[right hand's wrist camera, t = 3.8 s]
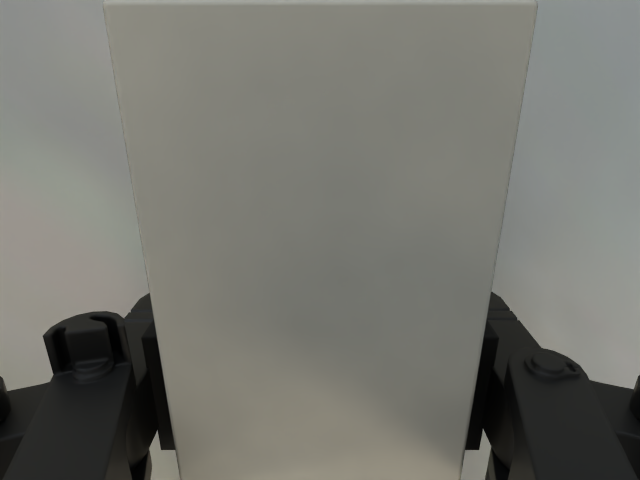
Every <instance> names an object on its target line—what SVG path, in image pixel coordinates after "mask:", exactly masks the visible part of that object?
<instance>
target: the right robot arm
mask: <svg viewBox="0 0 640 480" xmlns="http://www.w3.org/2000/svg"><path fill="white" fill-rule="evenodd" d="M43 338H44V342H45V346H46V349H47V353H48V356H49V360H50V364H51V367H52V371H53V374H54V375H53V377H52V379H51V381H50V382H49V383H45V384H41V385H36V386H31V387H26V388H21V389H16V390H11V391H7V390H6V386H5V383H4V380H3V378H2V377H1V376H0V480H150V478H151V470H152V463H151V456H150V451H149V447H150V445H151V443H152V440H153V438H154V436H155V434H156V432H157V430H158V435H159V440H160V446H161V450H175V444H174V438H173V431H172V425H171V419H170V413H169V407H168V401H167V395H166V389H165V383H164V377H163V370H162V364H161V358H160V352H159V346H158V340H157V334H156V328H155V322H154V316H153V309H152V303H151V297H150V293H149V294H147V295H145V296H144V297H142V298H141V299H139V301H138V302H137V303H136V304H135V306H134V307H133V308H132V309H131V312H129V313H128V314H127V316H126V317H125V318H123V317H121V316H120V315H119V314H117V313H112V312H107V311H102V312H89V313H84V314H80V315H76V316H73V317H71V318H68V319H65V320H63V321H61V322H59V323H58V324H56V325H54V326H53V327H51V328H50V329H49V330H48V331H47V332H46V333H45V334H44V335H43ZM483 429H484V431H485V433H486V435H487V438H488V440H489V442H490V444H491V451H490V456H489V461H488V467H487V472H486V477H485V480H640V375H639V376H638V379H637V382H636V385H635V388H634V389H629V388H624V387H619V386H614V385H609V384H604V383H599V382H595V381H591V380H589V378H588V376H587V374H586V373H585V372H584V370H583V369H582V368H581V367H580V365H578V364H577V363H576V362H574V361H573V360H571V359H570V358H568V357H567V356H564V355H562V354H560V353H557V352H555V351H552V350H548V349H543V348H541V347H540V346H539V344H538V343H537V342H536V341H535V339H534V338H533V337H532V336H531V335H530V333H529V332H528V331H527V330H526V328H525V327H524V326H523V325H522V323H521V322H520V321H519V320H517V317H516V316H515V315H514V313H513V312H512V311H510V308H509V307H508V306H507V305H506V304H505V302H504V301H503V300H502V299H501V297H499V296H497V295H496V294H494V293H493V292H491V294H490V301H489V307H488V313H487V319H486V325H485V331H484V337H483V343H482V349H481V355H480V361H479V367H478V374H477V380H476V386H475V392H474V398H473V404H472V410H471V416H470V422H469V428H468V434H467V441H466V447H465V450H479V447H480V442H481V436H482V431H483Z"/></svg>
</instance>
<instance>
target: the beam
mask: <svg viewBox="0 0 640 480" xmlns="http://www.w3.org/2000/svg"><path fill="white" fill-rule="evenodd" d="M537 8H538V4H537V1H535V0H106V1H104V2H103V11H104V17H105V23H106V29H107V35H108V41H109V47H110V53H111V59H112V65H113V72H114V78H115V84H116V90H117V96H118V102H119V108H120V114H121V120H122V126H123V133H124V139H125V145H126V151H127V157H128V163H129V169H130V175H131V181H132V187H133V194H134V200H135V206H136V212H137V218H138V224H139V230H140V236H141V242H142V248H143V255H144V261H145V267H146V273H147V279H148V285H149V291H150V297H151V303H152V309H153V316H154V322H155V328H156V334H157V340H158V346H159V352H160V358H161V364H162V370H163V377H164V383H165V389H166V395H167V401H168V407H169V413H170V419H171V425H172V431H173V438H174V444H175V450H176V456H177V462H178V468H179V474H180V480H460V477H461V471H462V465H463V459H464V453H465V447H466V441H467V434H468V428H469V422H470V416H471V410H472V404H473V398H474V392H475V386H476V380H477V374H478V367H479V361H480V355H481V349H482V343H483V337H484V331H485V325H486V319H487V313H488V307H489V301H490V294H491V288H492V282H493V276H494V270H495V264H496V258H497V252H498V246H499V240H500V234H501V227H502V221H503V215H504V209H505V203H506V197H507V191H508V185H509V179H510V173H511V167H512V161H513V154H514V148H515V142H516V136H517V130H518V124H519V118H520V112H521V106H522V100H523V94H524V88H525V81H526V75H527V69H528V63H529V57H530V51H531V45H532V39H533V33H534V27H535V21H536V14H537Z"/></svg>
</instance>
